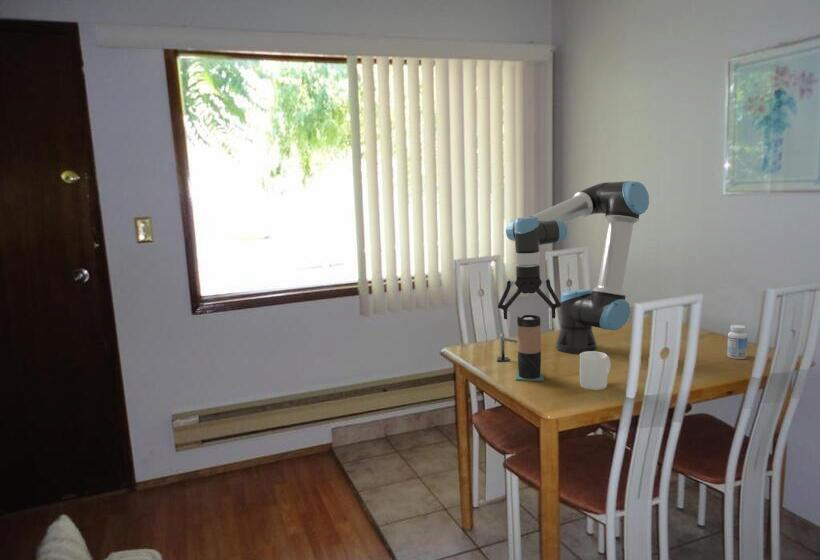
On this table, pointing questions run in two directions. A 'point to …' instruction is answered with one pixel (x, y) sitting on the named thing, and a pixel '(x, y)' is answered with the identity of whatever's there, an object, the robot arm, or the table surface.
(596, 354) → the cup
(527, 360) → the travel mug
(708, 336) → the table surface
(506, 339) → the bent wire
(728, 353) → the pill bottle
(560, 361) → the table surface
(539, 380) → the coaster
